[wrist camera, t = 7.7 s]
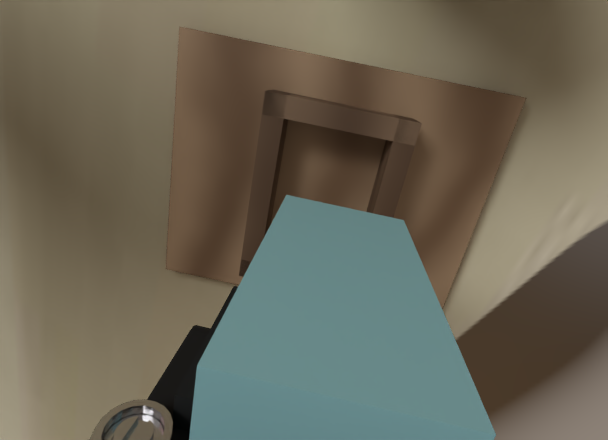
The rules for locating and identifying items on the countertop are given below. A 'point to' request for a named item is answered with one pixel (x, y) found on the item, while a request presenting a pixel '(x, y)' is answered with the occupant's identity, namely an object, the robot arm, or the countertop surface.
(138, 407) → the robot arm
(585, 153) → the countertop surface
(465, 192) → the keyed holder
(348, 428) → the keyed block
